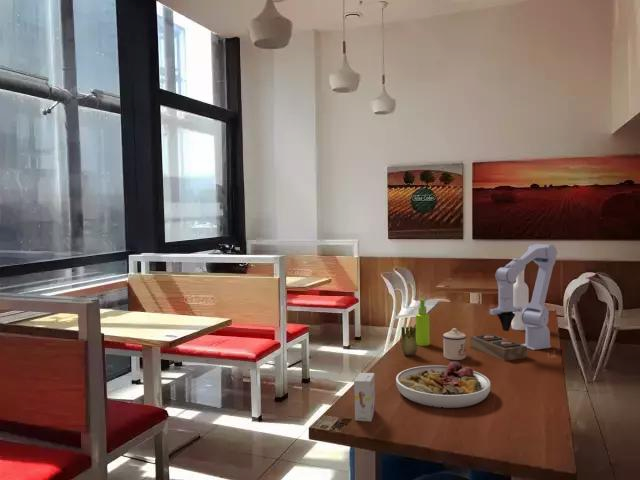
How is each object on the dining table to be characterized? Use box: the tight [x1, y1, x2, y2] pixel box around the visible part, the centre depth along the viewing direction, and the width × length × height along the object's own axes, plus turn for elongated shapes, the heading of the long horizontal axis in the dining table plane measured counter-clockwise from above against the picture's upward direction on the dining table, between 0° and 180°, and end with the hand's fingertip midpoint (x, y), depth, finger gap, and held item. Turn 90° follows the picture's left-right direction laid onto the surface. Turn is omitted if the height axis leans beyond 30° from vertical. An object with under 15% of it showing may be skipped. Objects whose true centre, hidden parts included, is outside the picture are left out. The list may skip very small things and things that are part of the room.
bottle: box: [510, 269, 530, 331], centre depth 259 cm, size 8×8×30 cm
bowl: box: [395, 360, 492, 409], centre depth 174 cm, size 30×30×8 cm
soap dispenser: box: [415, 298, 431, 347], centre depth 235 cm, size 6×7×20 cm
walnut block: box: [469, 333, 528, 362], centre depth 220 cm, size 11×22×5 cm, turn 20°
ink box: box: [353, 372, 376, 422], centre depth 157 cm, size 9×5×12 cm, turn 165°
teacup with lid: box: [442, 327, 467, 361], centre depth 216 cm, size 12×9×12 cm
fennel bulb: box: [400, 325, 418, 357], centre depth 219 cm, size 6×5×12 cm
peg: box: [501, 342, 512, 345], centre depth 215 cm, size 4×4×5 cm
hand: (505, 330), depth 216 cm, fingers closed
